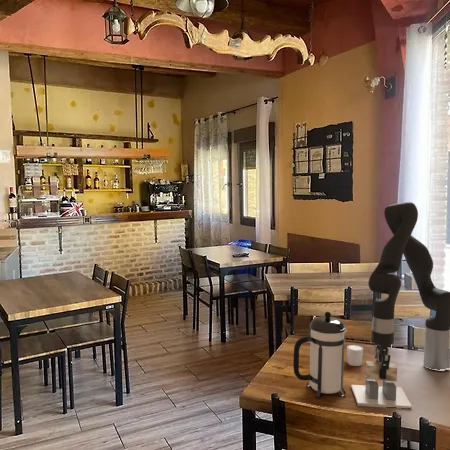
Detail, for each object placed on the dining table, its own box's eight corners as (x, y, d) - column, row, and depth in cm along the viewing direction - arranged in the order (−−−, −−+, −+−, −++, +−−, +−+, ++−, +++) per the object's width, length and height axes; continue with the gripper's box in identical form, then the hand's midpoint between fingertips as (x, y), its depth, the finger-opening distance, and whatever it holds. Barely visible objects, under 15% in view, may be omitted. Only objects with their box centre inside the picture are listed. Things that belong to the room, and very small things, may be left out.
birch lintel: (394, 376, 158) (395, 363, 158) (396, 381, 155) (397, 367, 154) (365, 374, 160) (366, 361, 160) (366, 379, 156) (367, 365, 156)
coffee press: (314, 377, 174) (316, 303, 171) (353, 389, 164) (355, 311, 161) (291, 393, 161) (293, 313, 158) (332, 407, 151) (334, 322, 148)
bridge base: (400, 390, 164) (401, 374, 163) (412, 409, 150) (412, 392, 150) (351, 387, 166) (351, 371, 166) (357, 405, 152) (358, 389, 152)
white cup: (361, 360, 191) (361, 344, 191) (364, 367, 185) (365, 350, 184) (344, 359, 192) (345, 344, 191) (347, 366, 185) (348, 350, 185)
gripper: (399, 336, 148) (397, 385, 150) (388, 323, 162) (387, 368, 164) (376, 335, 149) (374, 384, 151) (367, 322, 163) (366, 367, 165)
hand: (381, 375), depth 157 cm, fingers closed on birch lintel, 4 cm apart
